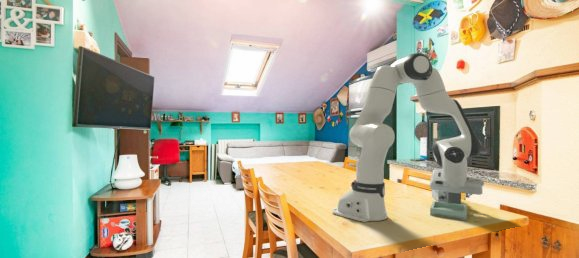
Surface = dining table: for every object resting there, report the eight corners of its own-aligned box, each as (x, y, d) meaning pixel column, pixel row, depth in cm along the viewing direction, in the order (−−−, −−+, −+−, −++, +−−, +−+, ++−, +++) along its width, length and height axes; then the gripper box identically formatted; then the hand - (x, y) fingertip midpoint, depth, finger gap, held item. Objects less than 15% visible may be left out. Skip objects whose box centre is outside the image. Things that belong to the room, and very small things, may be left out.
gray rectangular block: (448, 207, 127) (448, 190, 127) (448, 204, 131) (448, 188, 131) (460, 209, 124) (461, 191, 124) (461, 206, 129) (461, 189, 129)
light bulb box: (452, 202, 134) (452, 180, 134) (437, 202, 136) (437, 180, 136) (444, 197, 145) (445, 176, 145) (431, 196, 146) (431, 176, 146)
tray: (430, 214, 116) (430, 207, 116) (432, 207, 127) (432, 200, 127) (466, 220, 109) (466, 213, 109) (466, 212, 120) (466, 205, 120)
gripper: (484, 173, 115) (482, 191, 123) (429, 169, 125) (431, 186, 134) (484, 186, 111) (483, 204, 119) (428, 180, 122) (430, 197, 130)
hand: (455, 194), depth 127 cm, fingers open, 8 cm apart
